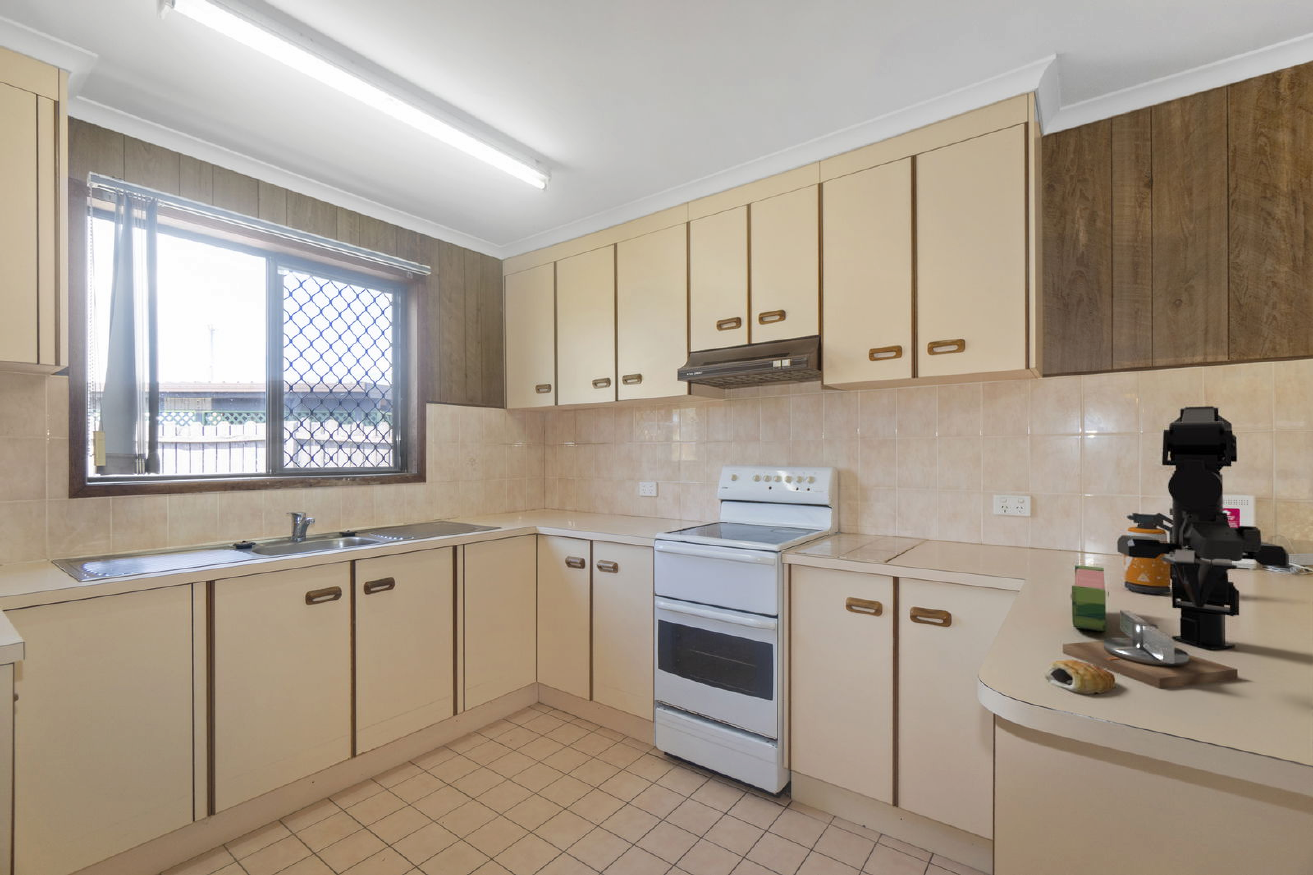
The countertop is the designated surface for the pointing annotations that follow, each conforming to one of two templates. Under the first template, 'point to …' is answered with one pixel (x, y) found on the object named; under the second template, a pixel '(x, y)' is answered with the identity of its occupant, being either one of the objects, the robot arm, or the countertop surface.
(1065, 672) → the pastry
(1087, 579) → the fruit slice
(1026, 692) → the countertop surface
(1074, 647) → the dial board
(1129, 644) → the silver metal stand
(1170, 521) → the canister
